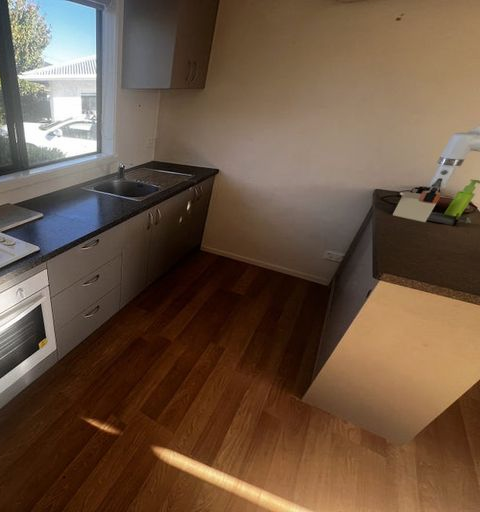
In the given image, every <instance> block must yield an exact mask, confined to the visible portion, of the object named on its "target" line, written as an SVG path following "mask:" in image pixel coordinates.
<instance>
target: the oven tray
mask: <svg viewBox="0 0 480 512" xmlns="http://www.w3.org/2000/svg"><path fill="white" fill-rule="evenodd" d="M471 220H472V218H471V217H463V216H460V217H459V213H457V214H456V216H452V215H446V214H444V213H440V212H436V211H432V212H431V213H430V215H429V217H428V219H427V220H426V221H429V222H434V223H440V224H445V225H451V226H453V227H455V226H456V225H457V224H458V222H459V223H465V224H466V225H469V224H471Z"/></svg>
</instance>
